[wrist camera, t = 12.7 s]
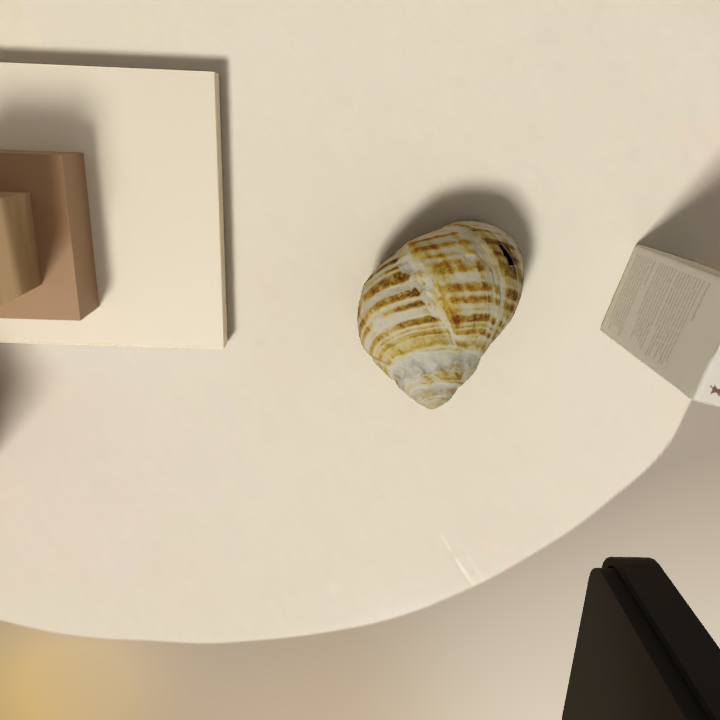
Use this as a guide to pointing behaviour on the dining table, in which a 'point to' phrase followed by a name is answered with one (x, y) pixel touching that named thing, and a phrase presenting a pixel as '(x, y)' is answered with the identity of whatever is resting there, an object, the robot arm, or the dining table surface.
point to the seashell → (440, 307)
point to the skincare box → (670, 320)
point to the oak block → (17, 247)
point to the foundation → (117, 204)
